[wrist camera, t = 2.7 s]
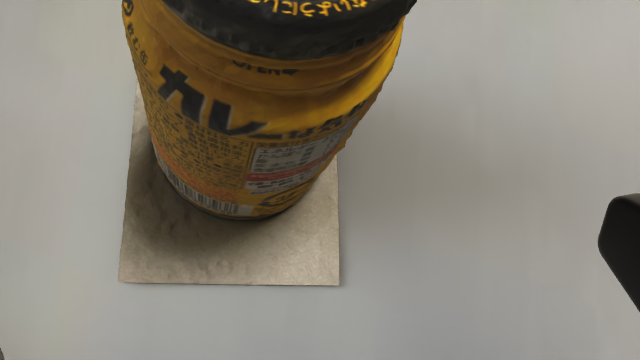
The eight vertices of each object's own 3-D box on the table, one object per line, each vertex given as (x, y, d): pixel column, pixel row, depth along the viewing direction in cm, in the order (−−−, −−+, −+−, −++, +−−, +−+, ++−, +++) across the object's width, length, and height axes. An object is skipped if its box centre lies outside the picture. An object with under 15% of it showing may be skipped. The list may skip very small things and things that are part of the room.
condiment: (335, 66, 22) (473, -229, 11) (338, 286, 20) (520, 209, 8) (140, 49, 21) (60, -311, 9) (118, 283, 18) (-25, 187, 7)
